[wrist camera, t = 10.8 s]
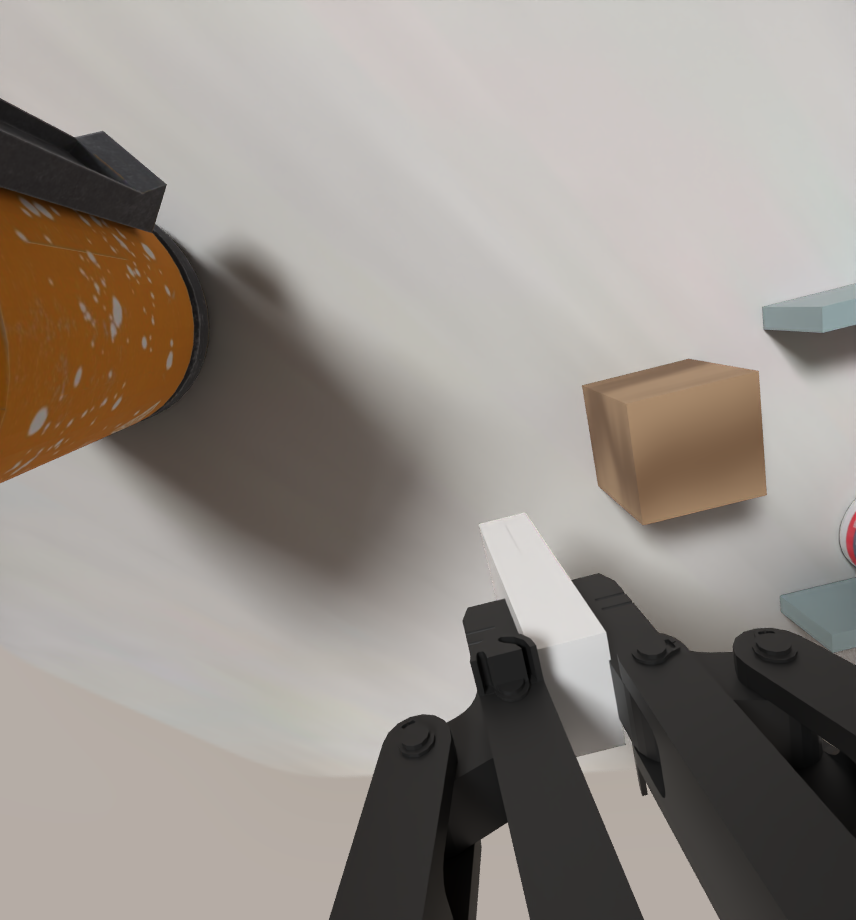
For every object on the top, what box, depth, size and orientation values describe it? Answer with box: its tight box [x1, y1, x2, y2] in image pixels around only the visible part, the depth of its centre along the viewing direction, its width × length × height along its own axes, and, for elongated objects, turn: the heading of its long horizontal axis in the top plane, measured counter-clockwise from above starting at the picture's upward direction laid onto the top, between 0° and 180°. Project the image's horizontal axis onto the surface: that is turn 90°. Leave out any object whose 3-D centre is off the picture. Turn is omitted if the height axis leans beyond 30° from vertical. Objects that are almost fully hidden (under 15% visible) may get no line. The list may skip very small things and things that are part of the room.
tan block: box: [582, 359, 767, 525], centre depth 23 cm, size 5×5×5 cm
